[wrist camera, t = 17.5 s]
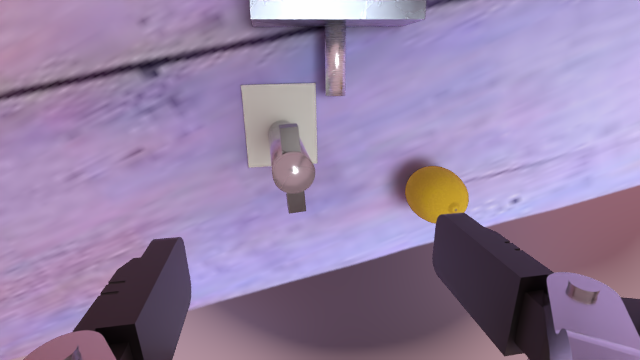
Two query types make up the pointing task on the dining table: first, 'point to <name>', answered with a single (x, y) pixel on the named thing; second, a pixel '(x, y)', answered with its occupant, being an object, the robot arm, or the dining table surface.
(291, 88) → the mat
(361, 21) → the block
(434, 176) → the lemon
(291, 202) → the chuck key
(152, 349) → the robot arm
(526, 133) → the dining table surface
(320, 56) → the dining table surface
